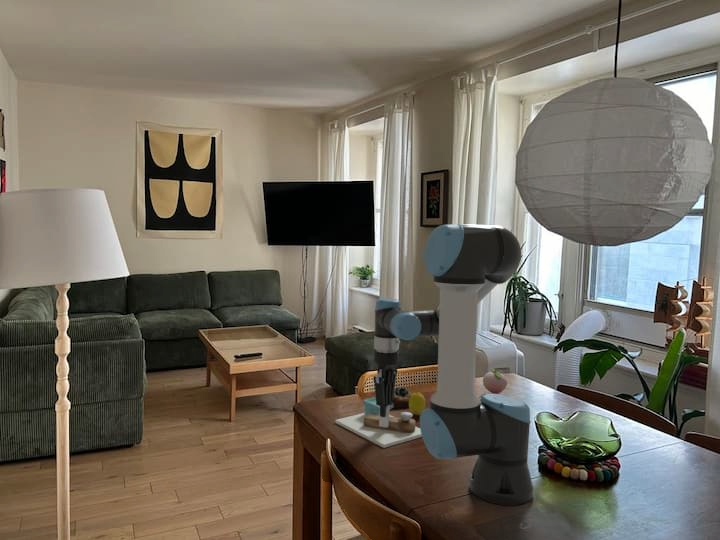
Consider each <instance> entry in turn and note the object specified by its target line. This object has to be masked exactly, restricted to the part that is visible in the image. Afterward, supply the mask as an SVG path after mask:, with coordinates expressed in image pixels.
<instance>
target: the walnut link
mask: <svg viewBox="0 0 720 540" xmlns="http://www.w3.org/2000/svg"><path fill="white" fill-rule="evenodd" d="M364 426H370V427H377V428H385V429H392V430H399V431H401V432H413V431H415V426H416V420H415V419H414V418H412V417H411V418H410V420H409V421H404V420H403V417H395V416H393V417H389V427H387V428H386V427H381V426H379V415H374V414H367V415H366V416H365V417H364Z"/></svg>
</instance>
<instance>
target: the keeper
mask: <svg viewBox="0 0 720 540" xmlns="http://www.w3.org/2000/svg"><path fill="white" fill-rule="evenodd" d="M363 405H364V413H365V415H367V414H374V415H379V412H380V406H378V405H376V396H375V397H374V396H373V397H371V398H364V400H363ZM392 408H393V405H390V409H392ZM392 410H393V409H392Z"/></svg>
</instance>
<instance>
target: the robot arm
mask: <svg viewBox="0 0 720 540" xmlns="http://www.w3.org/2000/svg"><path fill="white" fill-rule="evenodd" d="M423 257H424V258H423V259H424V261H423V262H424V265H425V269H426V272H427V273H428V274H429V275H431V276H433V283H434V285H435V286H436V287H437V288H438V289H439V305H438V306H437V307H436V308H434V309H423V310H422V309H421V310H420V309H419V310H415V309H414V310H402V307H401V305H402V304H401V301H400V300H399V299H396V298H379V299H377V300H376V302H375V309H374V313H375V314H374V339H373V340H374V342H373V343H374V344H373V349H375V350H374V351H373V362H374V364H377V366H378V367H377V372H376V374H377V375H376V376H373V378H372V379H373V382H374V390H375V391H374V395H375V398H376V405H378V406H380V412H379V426H381V427H386V428H387V427H389V415H390V405H393V403H392V402H391V401H393V396H394V389H396V388H395V386H396V378H397V374H398V369H397V368H395V365H397V364H398V363H399V359H400V351H399V349H400V344H401V340H404V341H411V340H414V339H416V338H418V337H436V336H438V345H437V374H436V375H437V378H436V379H437V380H436V381H437V382H436V383H437V384H436V392H435V393H433V394H432V395H431V396H430V399H429V400H430V401H429V407H425V409H424V410H423V411H422V412H421V413H420V416H419V428H420V430H421V434H422V437H421V438H422V441H423V442H424V445H425V447H426V449H427V451H428V452H429V453H430V454H431V456H433V457H434V458H436V459H438V460H447V459H448V460H450V459H451V460H456V459H458V458H466V457H472V456H477V460H476V461H475V464H474V466H473V469H472V471H471V474H470V477H469V489H470V491H471V493H472V494H473V495H475V496H476V497H477V498H479V499H481V500H482V501H484V502H488V503H491V504H496V505H501V506H502V505H503V506H519V505H524V504H526V503H528V502H530V501H531V500H532V499H533V497H534V484H533V480H532V477H531V472H530V469H529V466H528V455H529V442H530V441H529V440H530V438H529V437H530V425H531V409H530V407H529V405H528V404H527V403H526V402H525V401H523V400H520V399H518V398H516V397H513V396H509V395H505V394H500V393H499V394H493V393H484V394H483V395H481V398H479V397H478V395H476V393H475V383H476V382H475V381H476V358H477V357H476V352H477V350H476V349H477V323H478V304H480V303H481V301H483V299H484V298H485V297H487V295H489V293H490V292H491V291H492V290H493V289H494V288H495V287H496V286H497V285H503V284H505V283H506V282H507V281H508V280H510V278H512V277H513V275H514V274H515V273H516V272H517V270H518V269H519V266H520V264H521V260H522V248H521V244H520V242H519V240H518V238H517V236H515V234H514V233H513V232H511V230H509V229H507V228H506V227H503V226H501V225H494V224H488V225H487V224H465V223H462V224H461V223H451V224H443V225H442V224H441V225H439V226H437V227H436V228H434V229H433V230H432V231H431V233H430V235H429V236H428V238H427V241H426V243H425V248H424V256H423Z"/></svg>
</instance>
